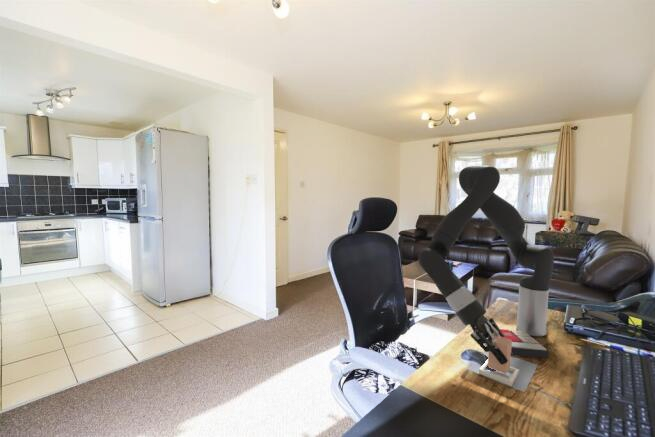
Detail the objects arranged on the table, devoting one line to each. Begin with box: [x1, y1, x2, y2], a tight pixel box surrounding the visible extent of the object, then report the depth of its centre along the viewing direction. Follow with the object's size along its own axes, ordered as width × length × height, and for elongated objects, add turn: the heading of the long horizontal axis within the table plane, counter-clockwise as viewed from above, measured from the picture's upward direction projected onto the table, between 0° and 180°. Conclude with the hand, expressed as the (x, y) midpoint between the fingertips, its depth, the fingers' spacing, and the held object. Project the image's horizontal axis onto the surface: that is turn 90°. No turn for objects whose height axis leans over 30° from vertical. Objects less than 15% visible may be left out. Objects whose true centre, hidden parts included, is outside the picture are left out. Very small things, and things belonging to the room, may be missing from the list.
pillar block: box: [488, 335, 512, 374], centre depth 84 cm, size 4×4×8 cm
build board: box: [467, 350, 539, 393], centre depth 88 cm, size 18×14×2 cm
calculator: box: [498, 328, 550, 359], centre depth 102 cm, size 11×4×15 cm
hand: (507, 359), depth 83 cm, fingers closed on pillar block, 4 cm apart
